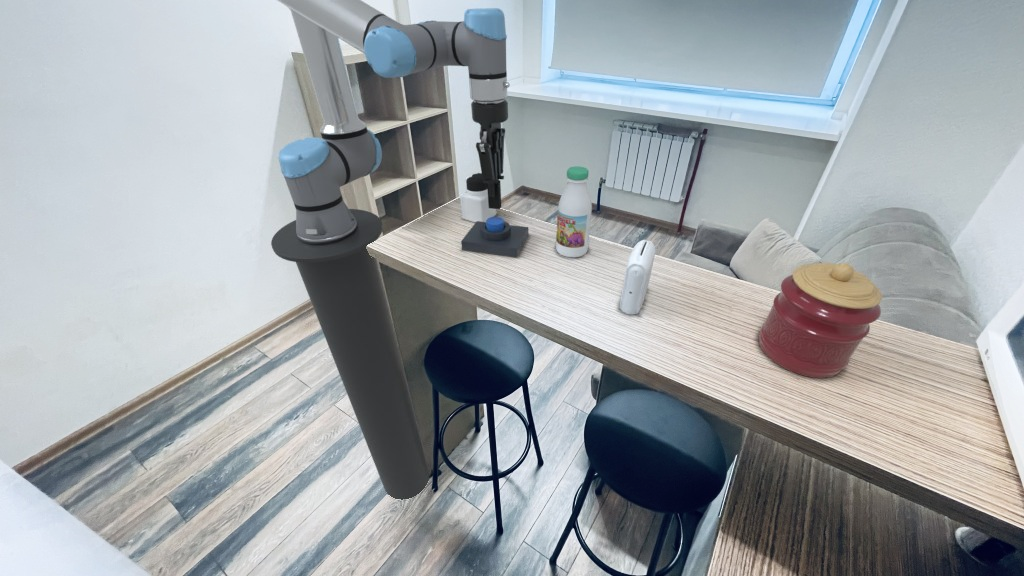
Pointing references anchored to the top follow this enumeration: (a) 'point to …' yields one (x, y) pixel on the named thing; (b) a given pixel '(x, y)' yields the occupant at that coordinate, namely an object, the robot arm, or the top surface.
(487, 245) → the button base
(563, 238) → the milk bottle
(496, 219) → the push top
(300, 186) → the robot arm
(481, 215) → the medicine bottle
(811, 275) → the kitchen canister
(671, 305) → the top surface
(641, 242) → the photo printer
